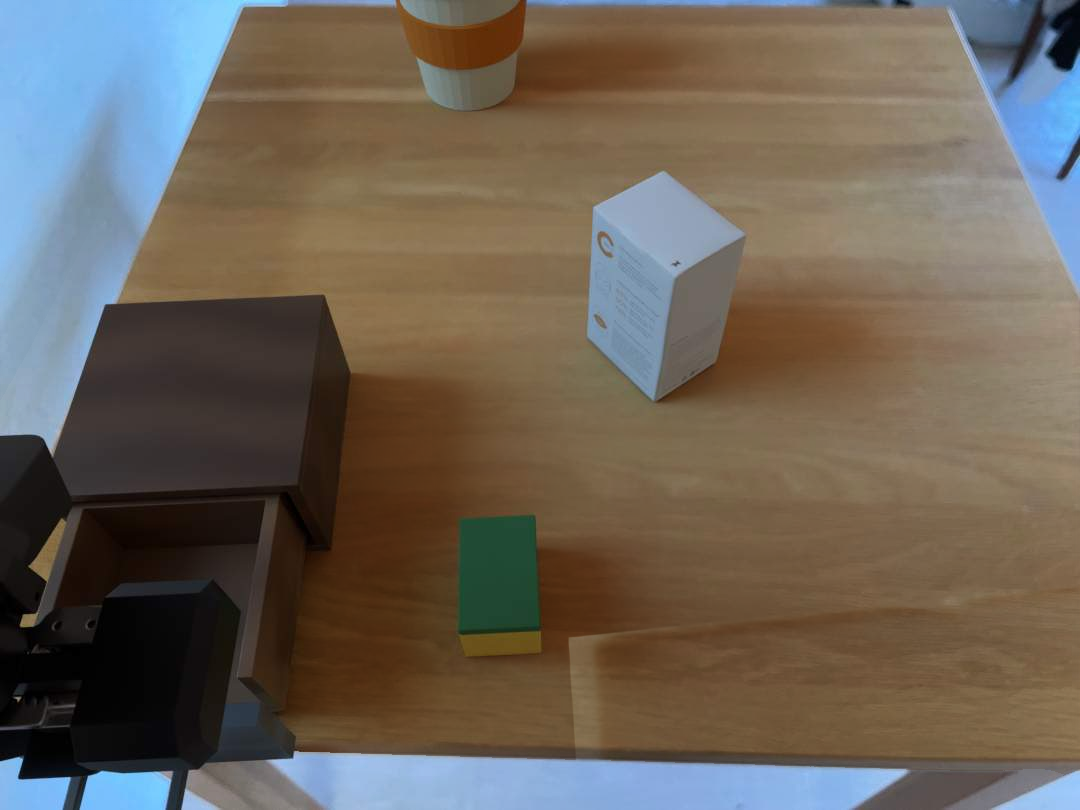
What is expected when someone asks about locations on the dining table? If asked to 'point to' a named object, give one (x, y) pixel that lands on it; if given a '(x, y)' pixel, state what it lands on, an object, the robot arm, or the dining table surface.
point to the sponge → (498, 586)
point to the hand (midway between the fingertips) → (68, 740)
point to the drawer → (197, 554)
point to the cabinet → (212, 405)
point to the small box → (661, 282)
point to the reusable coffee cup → (465, 48)
